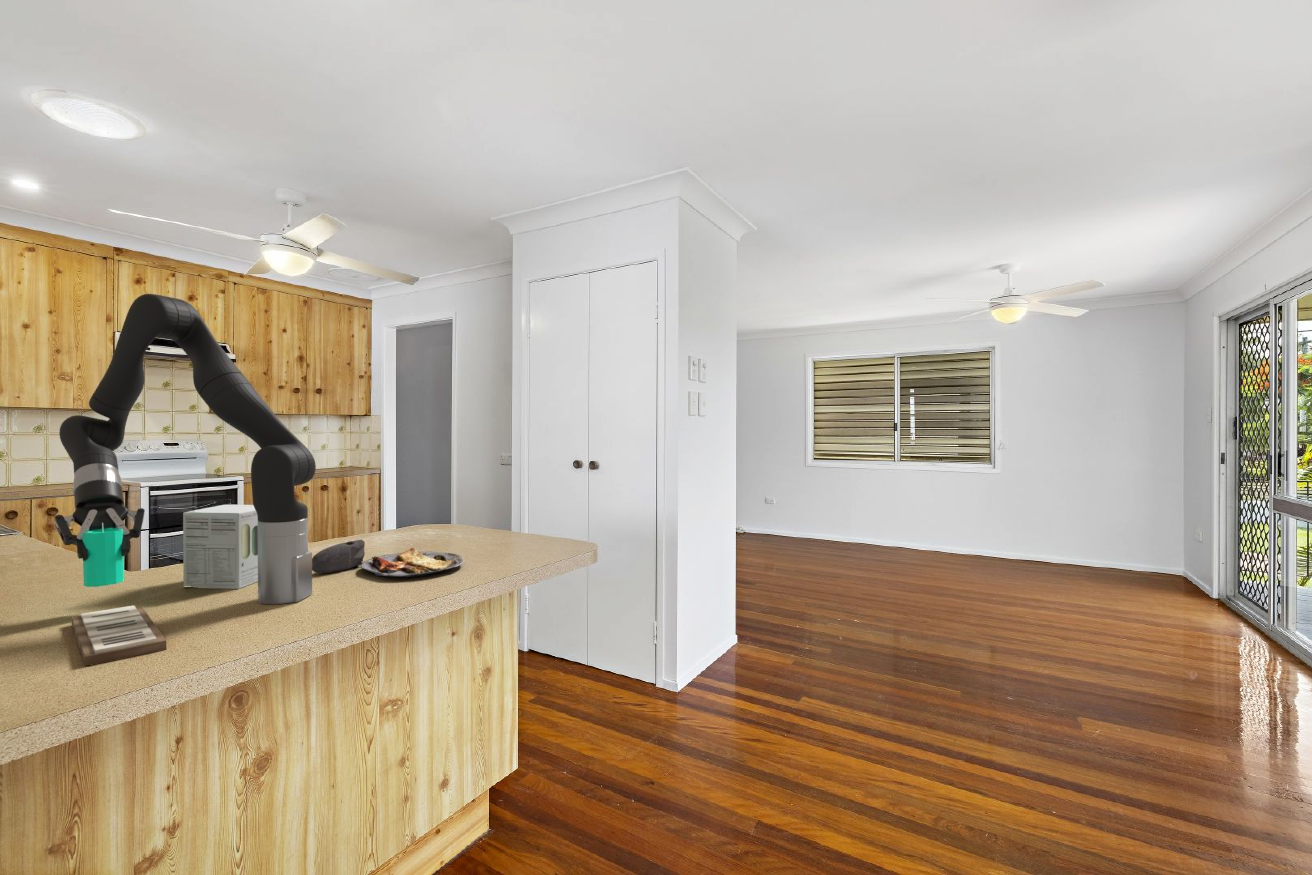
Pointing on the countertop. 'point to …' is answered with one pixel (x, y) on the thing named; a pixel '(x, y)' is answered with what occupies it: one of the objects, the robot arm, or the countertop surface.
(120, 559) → the candle
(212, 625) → the countertop surface
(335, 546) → the perforated stone tool
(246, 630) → the countertop surface
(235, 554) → the supplement box
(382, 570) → the food plate
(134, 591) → the countertop surface
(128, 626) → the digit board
